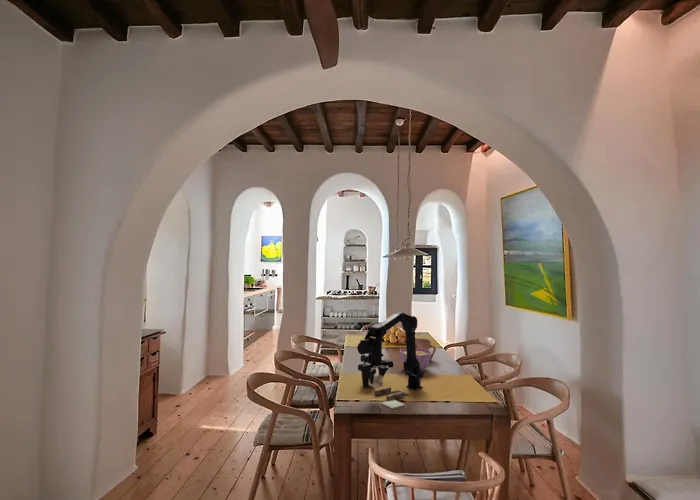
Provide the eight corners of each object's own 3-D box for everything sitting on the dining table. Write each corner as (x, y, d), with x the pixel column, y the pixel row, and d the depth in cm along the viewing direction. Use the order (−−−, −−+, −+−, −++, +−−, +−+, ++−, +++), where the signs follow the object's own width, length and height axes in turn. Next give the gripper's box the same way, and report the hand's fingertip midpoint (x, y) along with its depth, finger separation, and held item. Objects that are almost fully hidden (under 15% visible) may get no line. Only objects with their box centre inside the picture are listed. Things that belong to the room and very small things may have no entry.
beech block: (376, 383, 198) (376, 373, 198) (382, 386, 194) (382, 376, 194) (368, 385, 195) (368, 375, 195) (374, 387, 191) (374, 377, 191)
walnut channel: (389, 391, 206) (389, 386, 206) (403, 397, 197) (403, 392, 197) (374, 395, 201) (374, 390, 201) (388, 401, 192) (388, 396, 192)
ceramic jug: (409, 362, 266) (409, 341, 266) (409, 357, 280) (409, 337, 280) (436, 364, 263) (436, 343, 263) (434, 358, 277) (435, 338, 277)
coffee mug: (367, 389, 209) (367, 370, 210) (357, 385, 216) (357, 366, 216) (383, 385, 216) (383, 367, 216) (373, 381, 223) (373, 363, 223)
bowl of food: (429, 366, 257) (429, 348, 257) (432, 375, 237) (433, 355, 237) (399, 364, 259) (399, 347, 259) (399, 373, 239) (400, 354, 239)
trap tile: (398, 390, 208) (398, 390, 208) (408, 394, 201) (408, 394, 201) (391, 392, 205) (391, 391, 205) (401, 396, 198) (401, 396, 198)
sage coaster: (393, 400, 193) (393, 399, 193) (404, 405, 186) (404, 404, 186) (381, 403, 188) (381, 402, 188) (392, 409, 182) (392, 407, 182)
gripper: (380, 346, 206) (380, 376, 206) (351, 350, 196) (351, 381, 195) (394, 350, 197) (394, 381, 197) (364, 355, 187) (364, 388, 186)
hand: (375, 383), depth 194 cm, fingers closed on beech block, 5 cm apart
